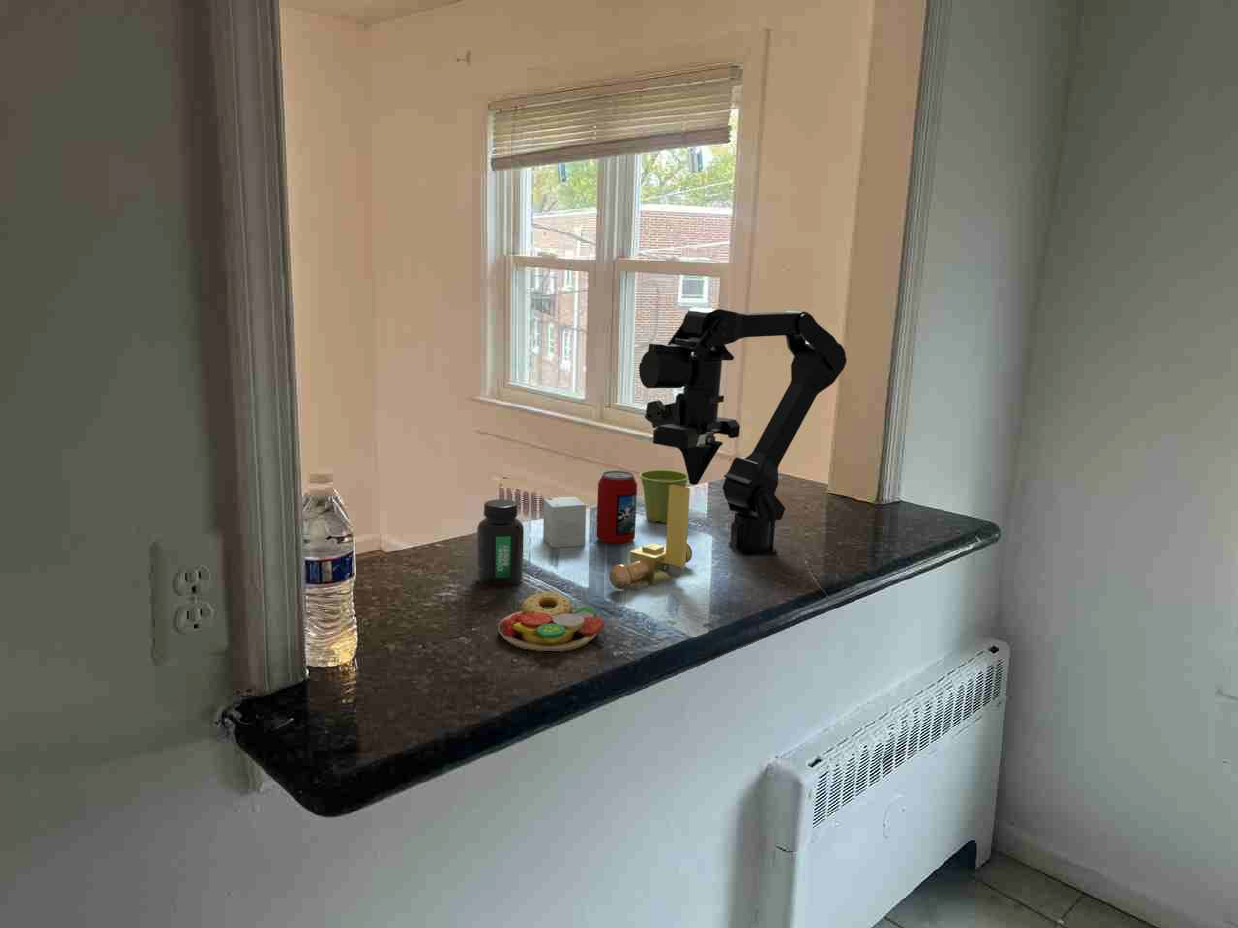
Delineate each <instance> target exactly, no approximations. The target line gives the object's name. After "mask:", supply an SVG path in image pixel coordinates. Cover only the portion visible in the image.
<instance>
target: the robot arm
mask: <svg viewBox="0 0 1238 928" xmlns="http://www.w3.org/2000/svg"><path fill="white" fill-rule="evenodd" d="M778 336H779V337H781V336H782V337H783V336H785V339H786V340H785V341H786V345H787V348H788V350H789V352H790V353H791V355H793V359H792V361H791V365H790V374H791V375H790V376H791V377H790V378H791V379H790V380H791V381H790V383H789V385H788V387H787V389H786V390H785V392H784V394H783V395H782V398H781V399H780V401H779V403H778V404H777V407H776V409H775V411H774V413H773V414H772V416H771V418H770V419H769V422H768V423H767V425H766V427H765V429H764V430H763V432H762V435H760V436H761V437H760V438H759V439H758V442H757V443H756V445H755V447H754V449H753V450H752V452H751V453H750V454H749V455H747V456H746V457H745V458H742V457H738V456H736V457H735V458H734V459H733V461H732V462H731V466H730V468H729V470H728V471H727V472H726V473H725V474H724V475H723V478H724V479H725V480H724V481H723V485H722V490H723V494H724V495H723V496H724V498H725V499H726V501H727V504H728V509H729V511H732V512H735V513H734V521H732V523H731V528H730V529H731V530H730V541H729V542H728V545H729V547H731V548H733V549H734V550H735V551H737V552H738V553H739V554H741V555H742V556H757V555H759V556H760V555H774V554H775V555H776V554H778V552H779V551H778V550H777V549H776V548H774V542H775V541H774V540H775V530H776V529H775V528H776V521H782V519H783V516H784V513H785V510H786V507H785V505H784V504H783V503H782V502H781V501H780V500H779V498H778V497H777V496H776V494H775V493H776V491H777V489H778V487H779V466H780V464H781V462H782V460H783V459H784V457H785V454H786V453H787V451H788V450H789V447H790V446H791V443H792V442H793V441H794V439H795V436H796V434H797V433H798V431H799V429H800V428H801V425H802V424H803V422H804V420H805V418H806V416H807V414H808V412H809V411H810V409H811V407H812V405H813V403H814V402H815V400H816V399H817V396H818V395H819V394H820V393H821V392H823V391H825V390H826V389H827V388H829V387H830V386H831V385H833V384H834V383H835V382H836V380H837V379H838V377H839V376H840V374H841V373H842V372H843V370H844V369H845V367H846V364H847V362H848V361H847V360H848V359H847V357H846V351H845V349H844V347H843V345H842V344H841V343H840V342H838V341H837V340H836V338H835V337H834V336H833V335H832V334H831V333H829V331H827V330H826V329H825V328H824V327H822V326H821V325H820V324H819V323H818V322H817V320H816V319H815V318H814V316H813V315H812V314H811V313H809V311H808V312H807V311H800V310H787V311H776V312H773V311H772V312H771V311H770V312H745V313H739V312H736V311H731V310H726V309H721V308H720V309H719V308H709V307H702V306H701V307H699V306H696V307H691V308H689V309H688V310H687V313H685V315H684V317H683V320H682V323H681V324H680V326H679V327H678V329H677V330H676V331H675V333H674V334H673V335H672V337H671V338H670V340H669V341H668V343H667V344H661V343H656V342H655V343H653V342H651V343H649V344H648V350H647V351H646V352H645V353H644V355H643V356H642V358H641V361H640V363H639V366H638V368H639V369H638V370H639V371H638V373H639V379H640V381H641V383H642V385H643V386H644V387H645V388H646V389H682V388H683V389H682V390H683V392H680V393H677V394H676V396H675V402H672V403H666V404H664V403H663V402H662V401H661V400H654V401H649V402H647V405H646V410H645V415H644V419H645V420H647V422H648V423H649V422H650V423H651V427H652V429H654V430H653V432H652V444H655V445H659V446H665V447H671V448H676V449H678V450H679V451H680V452H681V455H682V458H683V461H684V465H685V470H686V474H687V475H688V478H689V479H688V482H689V484H690V485H693V486H696V485H698V484H699V483H700V481H701V479H702V477H703V475H704V474H705V472H706V471H707V469H708V467H709V465H710V463H711V461H712V460H713V458H714V457H715V456H716V453H718V451H719V449H720V447H722V446H723V443H724V442H723V441H717V440H716V436H715V434H719V435H724V436H728V438H729V439H735V438H739V437H740V428H741V426H740V424H739V423H738V421H737V419H733V418H727V417H721V416H718V413H719V403H724V402H725V401H724V400H725V395H721V394H720V389H721V378H722V377H721V376H722V369H723V368H722V367H723V361H733V360H734V359H735V356H734V354H732V353H731V352H730V351H729V350H728V348H727V347H726V345H730V344H733V343H735V342H737V341H739V340H741V339H745V338H754V337H755V338H759V337H760V338H761V337H778Z"/></svg>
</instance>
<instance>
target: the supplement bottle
mask: <svg viewBox="0 0 1238 928" xmlns="http://www.w3.org/2000/svg"><path fill="white" fill-rule="evenodd" d="M483 509H484V510H483V516H484V517H485V518H483V519H481V520H480V521H479V522H478V525H477V526H476V527H477V528H476V529H477V530H476V541H477V542H476V578H477V579H476V580H477V581H478V582H479V584H481V585H483V586H486V587H489V588H510V587H513V586H516V585H518V584H520V583H521V582H522V581H523V578H524V534H525V533H524V525H523V522H522V521H520V520H519V519H518V518H517V517H518V503H517V502H516V501H514V500H510V499H503V498H502V499H491V500H487V501H485V502H484V504H483Z"/></svg>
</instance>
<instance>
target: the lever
mask: <svg viewBox="0 0 1238 928" xmlns="http://www.w3.org/2000/svg"><path fill="white" fill-rule="evenodd" d="M690 491H691V489H690V487H687V486H685V487H682V486H677V485H670V486H669V500H668V519H667V523H666V540H665V541H666V542H665V547H666V558H665V563H668V564H670V565H669V567H668V576H670V577H673V578H674V579H679V578H681V576H682V573H683V572H682V567H683V566H685V567H686V565H687V563H686V547H687V544H688V525H689V510H690V509H689V508H690ZM673 578H672V579H673Z"/></svg>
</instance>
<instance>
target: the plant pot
mask: <svg viewBox="0 0 1238 928" xmlns="http://www.w3.org/2000/svg"><path fill="white" fill-rule="evenodd" d="M639 479H641V484H642V486H643V494H644V495H643V496H644V503H645V504H644V505H645V516H646V520H648V521H649V522H652V523H656V522H661V523H663V524H667V519H668V500H669V486H670V485H677V486H682V487H687V486H686V485H687V481H689V478H688V474H687V473H685V472H681V471H678V470H671V469H670V470H667V469H665V470H664V469H655V470H654V469H653V470H646V471H643V472H640V473H639Z"/></svg>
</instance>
